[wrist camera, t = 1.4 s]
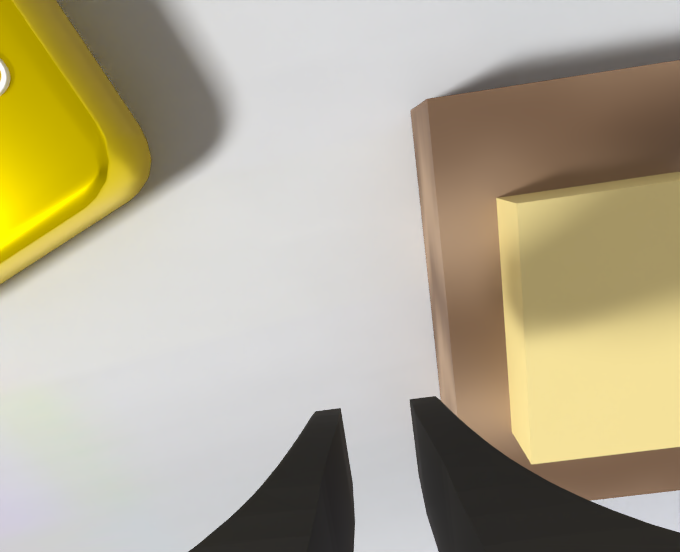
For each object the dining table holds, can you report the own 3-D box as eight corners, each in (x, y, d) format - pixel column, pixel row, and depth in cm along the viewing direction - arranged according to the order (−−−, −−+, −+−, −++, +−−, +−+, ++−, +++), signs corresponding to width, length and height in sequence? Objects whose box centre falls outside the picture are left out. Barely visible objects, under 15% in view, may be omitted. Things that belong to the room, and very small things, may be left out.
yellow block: (671, 412, 18) (710, 442, 16) (512, 432, 18) (531, 464, 16) (676, 172, 16) (722, 174, 14) (496, 197, 16) (516, 203, 14)
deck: (699, 424, 23) (773, 479, 19) (446, 454, 23) (467, 514, 19) (713, 63, 19) (809, 40, 15) (410, 110, 19) (427, 99, 16)
